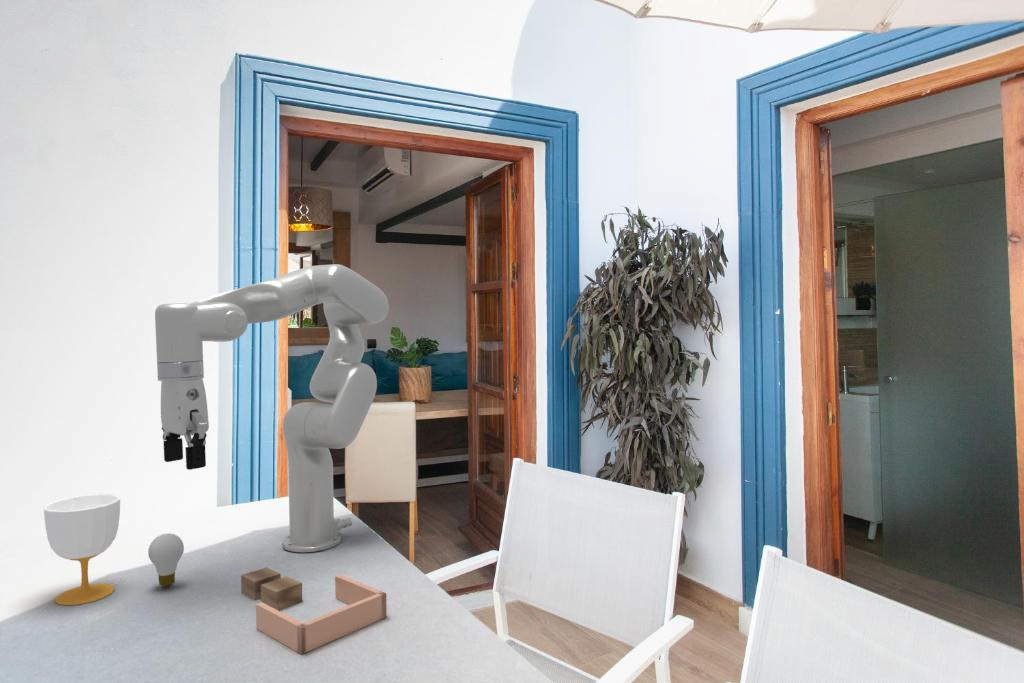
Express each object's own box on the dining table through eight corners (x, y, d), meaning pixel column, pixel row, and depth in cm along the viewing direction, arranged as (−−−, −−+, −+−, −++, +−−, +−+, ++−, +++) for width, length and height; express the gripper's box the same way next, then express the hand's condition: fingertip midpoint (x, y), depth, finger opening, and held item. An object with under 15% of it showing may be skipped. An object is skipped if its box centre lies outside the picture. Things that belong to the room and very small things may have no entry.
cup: (131, 593, 119) (129, 501, 119) (54, 615, 111) (52, 515, 110) (111, 577, 127) (109, 490, 127) (38, 595, 119) (36, 502, 118)
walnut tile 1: (267, 585, 123) (266, 567, 123) (280, 592, 120) (280, 573, 120) (241, 593, 119) (241, 575, 119) (255, 601, 116) (254, 581, 116)
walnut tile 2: (286, 595, 119) (286, 576, 119) (302, 602, 115) (301, 582, 115) (261, 604, 115) (260, 584, 115) (276, 612, 112) (276, 592, 112)
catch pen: (340, 596, 117) (339, 574, 117) (386, 616, 109) (386, 593, 109) (256, 628, 105) (256, 604, 105) (301, 654, 97) (301, 627, 97)
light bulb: (169, 594, 119) (168, 540, 119) (141, 592, 120) (140, 538, 120) (191, 582, 125) (190, 530, 124) (164, 579, 126) (163, 528, 125)
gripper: (223, 371, 116) (226, 467, 117) (182, 367, 127) (186, 454, 128) (178, 375, 110) (183, 475, 111) (140, 370, 122) (144, 461, 122)
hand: (184, 464), depth 120 cm, fingers open, 9 cm apart
